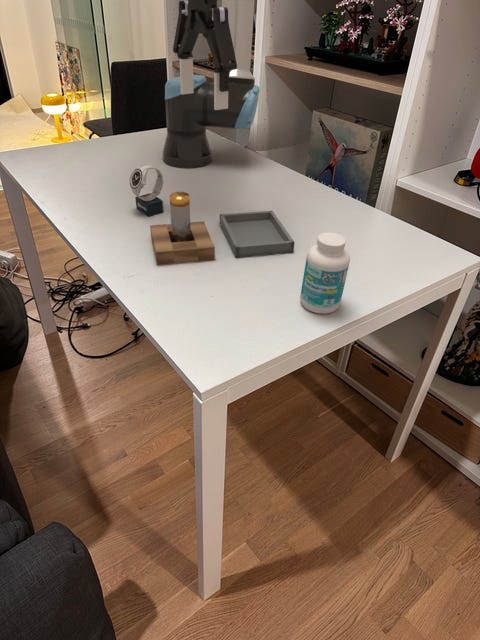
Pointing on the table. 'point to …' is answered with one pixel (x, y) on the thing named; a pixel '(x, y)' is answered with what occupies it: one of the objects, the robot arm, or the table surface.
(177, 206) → the pin
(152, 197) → the watch
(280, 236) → the tray
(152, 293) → the table surface
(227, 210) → the table surface
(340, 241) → the pill bottle
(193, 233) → the socket block
